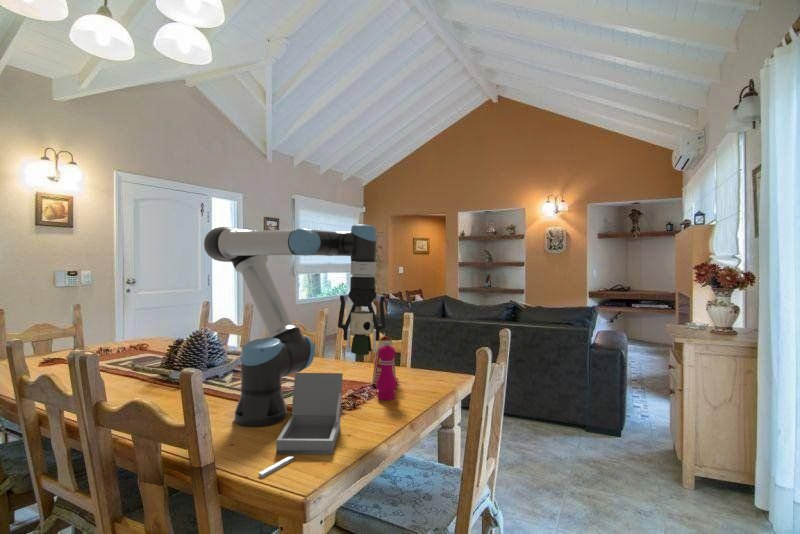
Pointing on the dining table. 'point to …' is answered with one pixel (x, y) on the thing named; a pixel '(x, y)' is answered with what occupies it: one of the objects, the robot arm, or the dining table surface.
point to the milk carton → (377, 359)
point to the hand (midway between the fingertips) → (361, 351)
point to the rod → (276, 466)
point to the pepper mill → (386, 373)
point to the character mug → (361, 332)
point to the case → (313, 415)
